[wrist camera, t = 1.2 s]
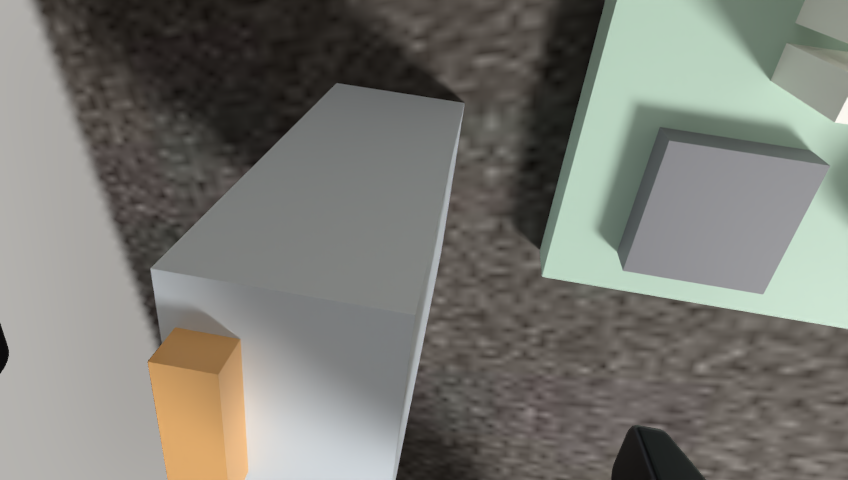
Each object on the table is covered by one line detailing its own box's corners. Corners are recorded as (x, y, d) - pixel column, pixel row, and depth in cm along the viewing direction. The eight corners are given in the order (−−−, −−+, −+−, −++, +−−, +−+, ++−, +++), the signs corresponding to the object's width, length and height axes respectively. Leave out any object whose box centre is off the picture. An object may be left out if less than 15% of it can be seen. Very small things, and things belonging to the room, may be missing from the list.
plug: (441, 250, 15) (376, 575, 8) (330, 231, 15) (163, 532, 8) (464, 102, 13) (406, 352, 6) (336, 83, 13) (119, 300, 6)
